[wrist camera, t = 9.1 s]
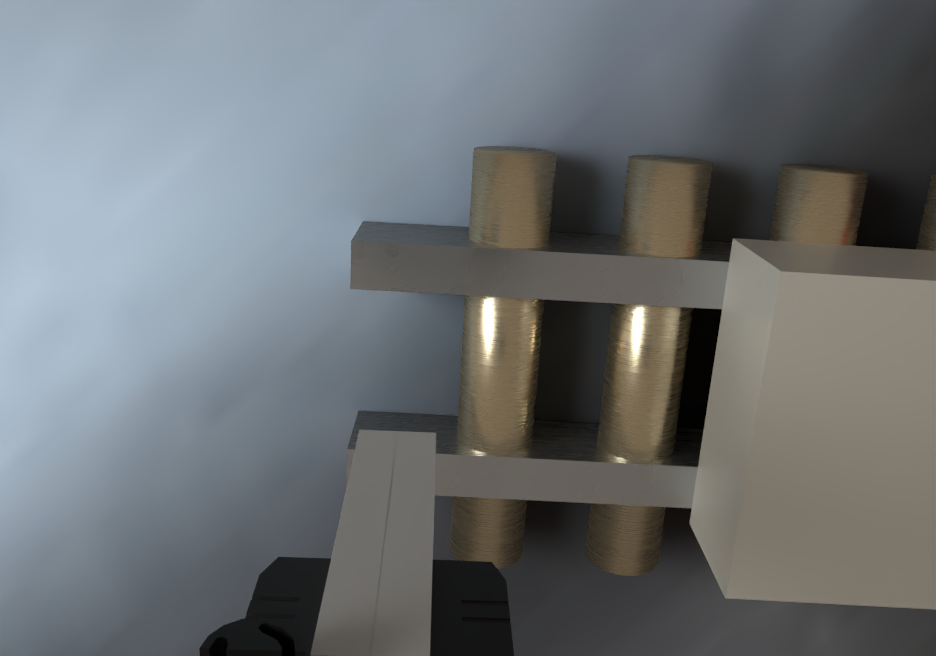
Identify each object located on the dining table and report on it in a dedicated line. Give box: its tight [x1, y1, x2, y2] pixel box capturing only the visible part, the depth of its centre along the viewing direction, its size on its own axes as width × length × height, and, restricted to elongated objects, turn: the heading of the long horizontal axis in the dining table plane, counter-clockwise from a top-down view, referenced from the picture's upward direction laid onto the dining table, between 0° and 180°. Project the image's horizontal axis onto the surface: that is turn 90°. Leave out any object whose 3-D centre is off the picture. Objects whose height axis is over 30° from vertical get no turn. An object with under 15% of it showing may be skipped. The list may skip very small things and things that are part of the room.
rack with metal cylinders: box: [346, 146, 936, 576], centre depth 27 cm, size 14×27×5 cm, turn 87°
